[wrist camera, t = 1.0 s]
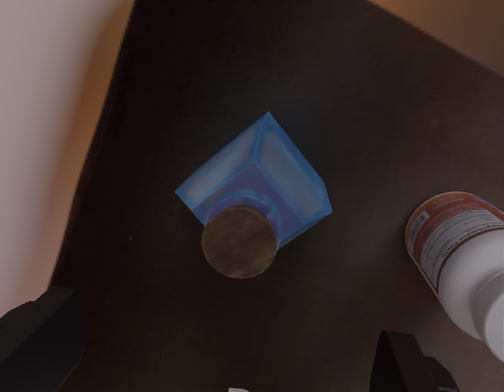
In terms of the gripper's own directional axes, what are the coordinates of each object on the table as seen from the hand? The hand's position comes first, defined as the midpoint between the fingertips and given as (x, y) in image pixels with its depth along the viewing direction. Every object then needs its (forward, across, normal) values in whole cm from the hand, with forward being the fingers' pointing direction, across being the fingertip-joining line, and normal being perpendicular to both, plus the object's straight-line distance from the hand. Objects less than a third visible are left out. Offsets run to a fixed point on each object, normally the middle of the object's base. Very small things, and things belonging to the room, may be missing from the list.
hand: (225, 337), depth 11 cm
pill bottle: (+18, -13, +2) cm, 23 cm away
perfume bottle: (+18, 0, 0) cm, 18 cm away
